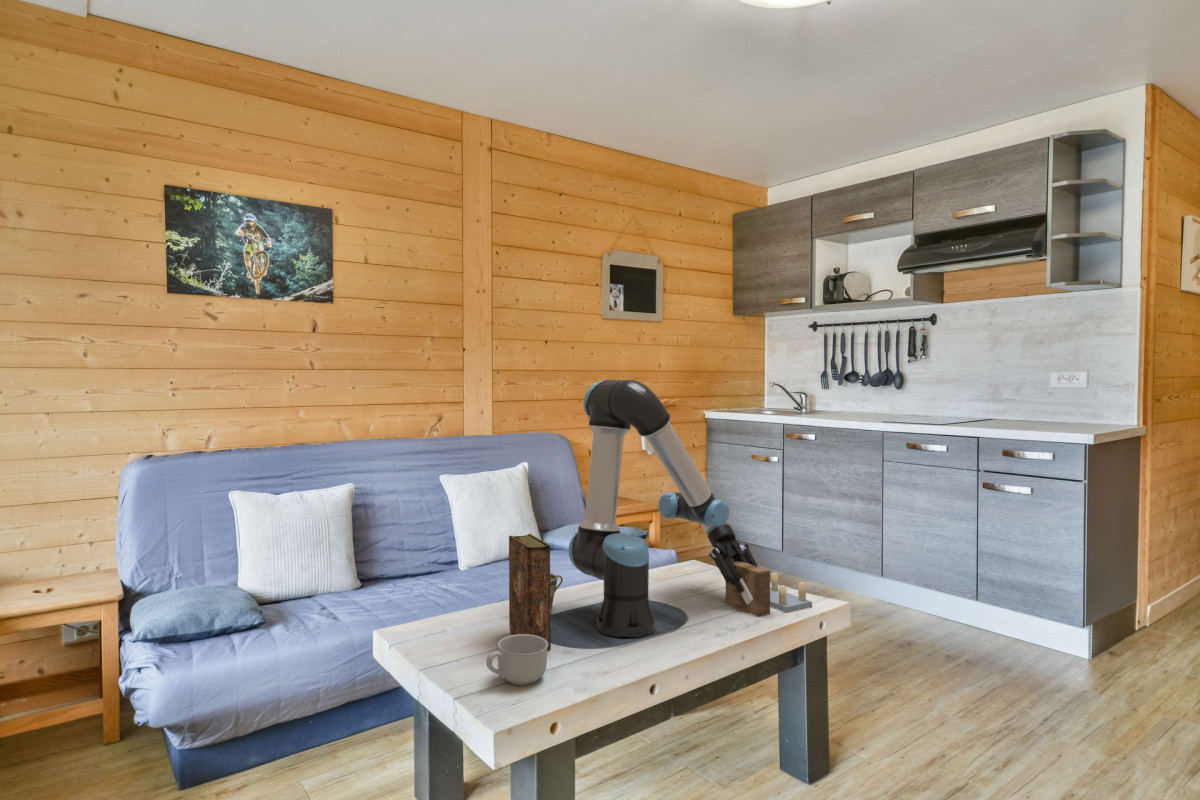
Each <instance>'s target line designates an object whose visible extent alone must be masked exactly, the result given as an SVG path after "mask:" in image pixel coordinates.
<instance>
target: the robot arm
mask: <svg viewBox="0 0 1200 800" xmlns="http://www.w3.org/2000/svg"><path fill="white" fill-rule="evenodd" d="M583 410H584V412H585V413H586V415H587V417H588V419H589V420H588V427H589V429H590V430H591V432H592V445H591V453H590V454H591V455H590V463H589V473H588V484H587V494H586V504H585V511H584V513H585V514H584V519H583V520H581V522H580V523H578V528H577V532H575V533H574V535H573V536H572V537H571V539H570V540H569V545H568V556H569V560H570V562H571V563H572V565H573V566H574V568H575V569H576V570H579V571H580V572H581V573H582V574H585V575H587V576H591V577H594V578H596V579H599V580H601V581H603V599H602V603H601V605H600V609H599V612H598V615H597V618H596V626H597V627H596V628H597V631H598V630H599V631H600V633H601V634H602V635H605V634H606V635H605V636H608V635H609V636H608V637H612V636H615V637H614V638H619V637H629V638H628V639H633V638H634V637H635V638H642V637H645V636H648V635H650V634H652V633H654V632H655V631H656V617H655V614H654V611H653V608H652V605H651V601H650V598H649V585H650V583H649V580H650V579H649V577H650V576H649V570H650V568H649V567H650V564H649V563H650V554H649V547H648V543H647V541H646V540H645V539H644V538H642V537H640V536H638V535H635V534H628V533H624V532H623V533H621V528H620V526H619V524H618V523H617V510H618V502H619V501H618V500H619V490H620V482H621V481H620V479H621V470H622V460H623V448H624V439H625V435H627V434H628V433H629V432H630V431H631V426H632V427H634V429H635V430H636V432H637V433H638V435H640V436H641V437H643V438H645V439H646V440H647V442H648V443H649V445H650V446H651V448H652V449H653V452H654V453H655V454H656V456H657V457H658V459H659V461H660V462H661V464H662V465H663V467H664V468H665V470H666V473H667V474H668V475H669V476H670V478H671V480H672V481H673V483H674V485H675V486H676V488H677V490H678V491H679V492H674V491H671V492H666V493H663V494H662V495H661V496H660V497H659V499H658V510H659V511H658V512H659V513H660V515H661V516H662V517H663V518H665V519H672V520H674V519H681V520H684V521H689V522H694V523H698V524H699V525H701V528H702V529H703V531H704V533H705V535H706V536H707V539H708V540H709V543H710V544H711V546H712V547H713V549H712V550H711V551H710V552H709V553H708V554H709V555H708V556H709V557H710V558H711V559H712V560H713V561H714V563H715V565H716V566H717V568H718V570H719V572H720V574H721V576H723V578H724V581H725V583H726V582H727V583H729V582H731V583H730V584H731V585H735V587H736V588H737V590H738V592H739V593H741V595H742V597H743V598H744V600H745V602H746V604H750V602H751V601H752V600H753V597H752V595H751V594H750V592H749V590H748V588H747V586H746V584H745V583H744V581H743V579H740V580H739V575H738V573H737V570H736V567H735V565H734V561H733V560H736V561H740V562H744V563H748V564H751V565H754V566H757V567H759V566H758V564H757V562H756V560H755V558H754V556H753V555H752V553H751V551H750V545H749V544H748V543H745V544H741V543H740V542H739V541H738V540H737V539H736V534H735V532H734V530H733V528H732V526H731V525H730V523H729V521H728V519H729V517H730V509H729V508H730V507H729V505H728V503H726V502H725V501H724V500H721V499H719V498H716V497H715V495H714V494H713V492H712V491H711V488H710V487H709V485H708V484H707V482H706V480H705V479H704V477H703V476H702V474H701V472H700V470H699V469H698V467H697V466H696V464H695V462H694V460H693V458H692V457H691V456H690V454H689V452H688V450H687V449H686V447H685V445H684V444H683V442H682V440H681V439H680V437H679V435H678V434H677V432H676V430H675V428H674V427H673V425H672V424H671V422H670V421H671V419H672V418H671V415H670V413H669V412H668V409H667V408H666V406H665V405H664V404H663V402H662V401H661V400H660V398H659V397H658V396H657V395H656V394H655V392H654V391H653V390H651V388H650V387H649V386H648V385H646V384H644V383H642V382H641V381H638V380H636V379H605V380H601V381H600V380H599V381H597V382H594V383H593V384H592V385H591V386H590V387H589V388H588V389H587V390H586V392H585V394H584V397H583ZM654 630H655V631H654ZM599 631H598V632H599ZM630 637H631V638H630ZM632 637H633V638H632ZM635 638H634V639H635Z"/></svg>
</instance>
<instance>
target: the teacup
mask: <svg viewBox="0 0 1200 800" xmlns="http://www.w3.org/2000/svg"><path fill="white" fill-rule="evenodd" d="M547 648H548V642H547V641H546V640H545V639H544V638H541V637H539V636H536V635H529V634H518V635H512V634H511V635H508V636H505V637H503V638H501V639H499V641H498V642H497V650H494V651H491V652H490V653H489V654H488V656H487V657H486V668H488V670H489V671H490V672H492V673H494V674H496V675H498V677H499V678H503V679H504V680H506V682H508V683H509V684H512V685H516V686H529V685H531V684H533V683H535V682H537V681H538V680H540V679H541V678H542V677H543V675H544V674H545V672H546V669H547V663H548V652H547ZM496 657H497V668H495V667H494V665H493V660H494V659H495V658H496Z"/></svg>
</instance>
